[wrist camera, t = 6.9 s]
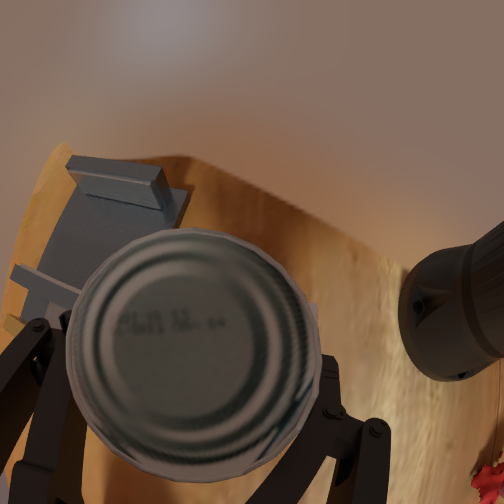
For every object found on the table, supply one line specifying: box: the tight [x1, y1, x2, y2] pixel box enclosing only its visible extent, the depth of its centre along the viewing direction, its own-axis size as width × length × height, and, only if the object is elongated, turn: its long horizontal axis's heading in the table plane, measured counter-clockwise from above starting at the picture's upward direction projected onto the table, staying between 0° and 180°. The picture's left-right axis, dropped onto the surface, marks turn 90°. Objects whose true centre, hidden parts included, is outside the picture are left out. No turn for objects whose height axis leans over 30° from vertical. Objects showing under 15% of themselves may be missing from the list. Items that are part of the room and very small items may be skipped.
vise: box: [20, 155, 191, 321], centre depth 25 cm, size 22×15×6 cm
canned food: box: [66, 227, 322, 483], centre depth 13 cm, size 8×8×12 cm
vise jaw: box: [3, 263, 81, 337], centre depth 21 cm, size 6×12×6 cm, turn 76°
